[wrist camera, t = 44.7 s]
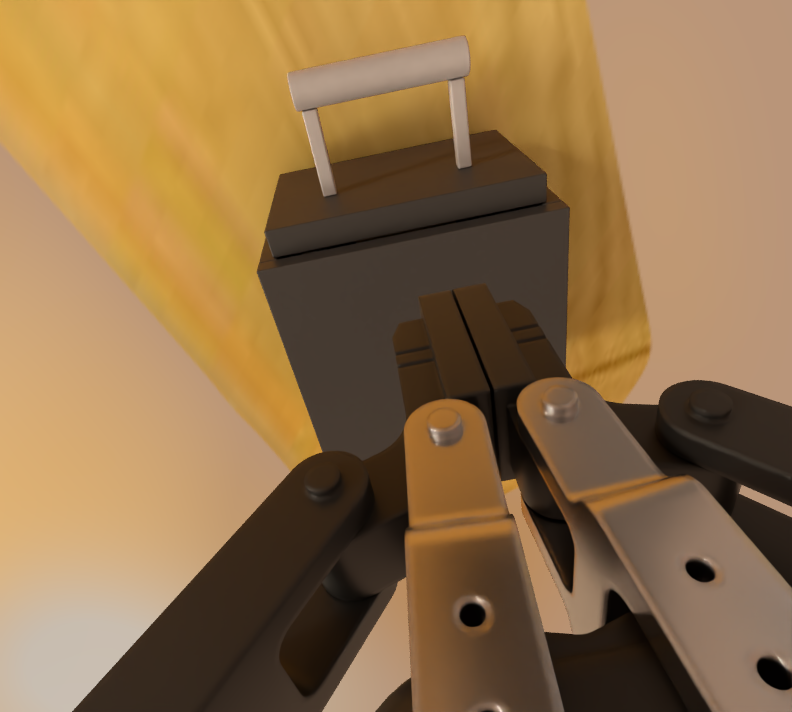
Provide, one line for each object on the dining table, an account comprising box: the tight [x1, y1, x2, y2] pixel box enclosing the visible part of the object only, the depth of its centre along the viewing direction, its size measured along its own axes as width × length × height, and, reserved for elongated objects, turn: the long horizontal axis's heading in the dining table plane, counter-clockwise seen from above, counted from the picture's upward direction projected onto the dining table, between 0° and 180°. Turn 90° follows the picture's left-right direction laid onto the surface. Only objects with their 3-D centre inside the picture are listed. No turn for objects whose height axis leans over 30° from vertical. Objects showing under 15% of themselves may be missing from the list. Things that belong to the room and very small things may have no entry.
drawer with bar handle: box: [265, 36, 547, 258], centre depth 26 cm, size 18×11×8 cm, turn 10°
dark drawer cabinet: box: [257, 188, 570, 461], centre depth 29 cm, size 15×13×10 cm
